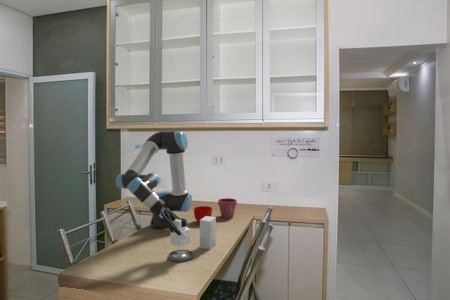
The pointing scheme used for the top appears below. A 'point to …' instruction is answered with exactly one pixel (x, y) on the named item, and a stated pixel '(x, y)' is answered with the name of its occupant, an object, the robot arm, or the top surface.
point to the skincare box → (207, 232)
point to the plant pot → (227, 207)
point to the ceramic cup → (202, 212)
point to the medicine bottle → (182, 225)
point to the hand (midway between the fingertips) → (186, 235)
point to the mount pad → (180, 255)
